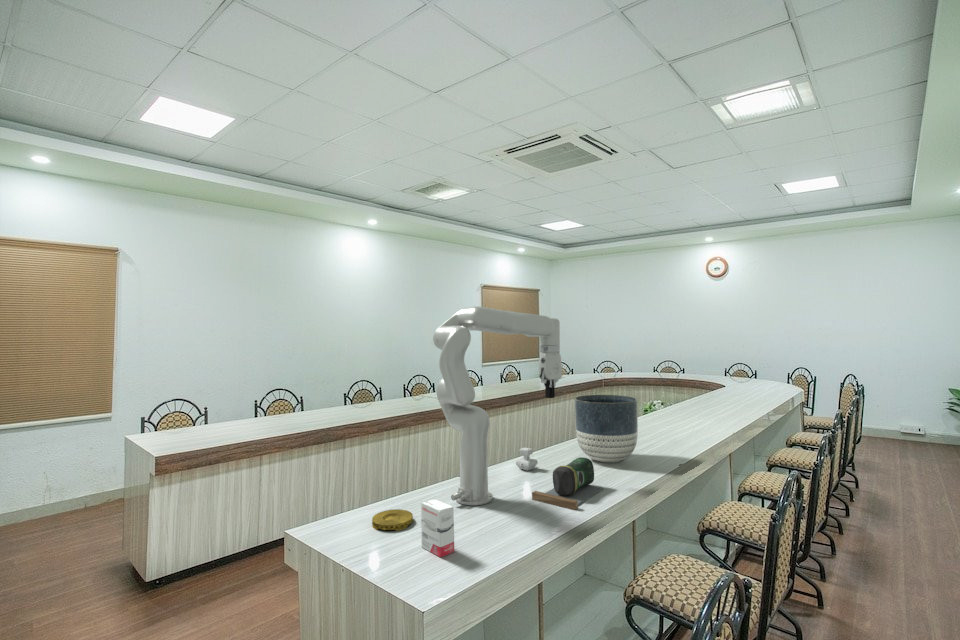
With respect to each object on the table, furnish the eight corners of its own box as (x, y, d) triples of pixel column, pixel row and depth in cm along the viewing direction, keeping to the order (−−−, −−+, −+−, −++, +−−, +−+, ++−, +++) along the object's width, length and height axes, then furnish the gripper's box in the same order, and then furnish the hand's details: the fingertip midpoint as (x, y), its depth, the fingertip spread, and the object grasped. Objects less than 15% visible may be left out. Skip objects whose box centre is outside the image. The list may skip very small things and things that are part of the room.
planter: (564, 460, 205) (562, 399, 205) (598, 449, 223) (596, 393, 223) (617, 472, 185) (615, 405, 186) (650, 459, 203) (648, 398, 204)
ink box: (455, 551, 120) (454, 505, 121) (440, 558, 117) (439, 511, 117) (435, 541, 126) (434, 497, 127) (420, 547, 123) (419, 502, 123)
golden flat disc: (381, 515, 146) (381, 508, 146) (417, 517, 144) (417, 510, 144) (365, 531, 134) (365, 523, 134) (405, 533, 132) (405, 526, 132)
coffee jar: (574, 456, 174) (548, 467, 160) (593, 457, 170) (569, 468, 155) (576, 482, 174) (551, 495, 159) (596, 484, 169) (571, 498, 154)
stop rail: (574, 510, 147) (574, 502, 147) (532, 499, 157) (532, 492, 157) (577, 508, 148) (577, 500, 148) (535, 497, 158) (535, 490, 158)
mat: (575, 507, 149) (575, 505, 149) (538, 498, 158) (538, 496, 158) (603, 489, 166) (603, 487, 166) (568, 482, 174) (568, 480, 174)
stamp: (527, 473, 187) (526, 452, 187) (513, 470, 191) (513, 449, 191) (539, 468, 193) (539, 447, 194) (526, 465, 198) (526, 445, 198)
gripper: (547, 350, 172) (547, 400, 171) (568, 350, 183) (568, 396, 182) (530, 350, 176) (530, 398, 176) (551, 349, 188) (552, 395, 187)
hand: (549, 397), depth 179 cm, fingers closed
